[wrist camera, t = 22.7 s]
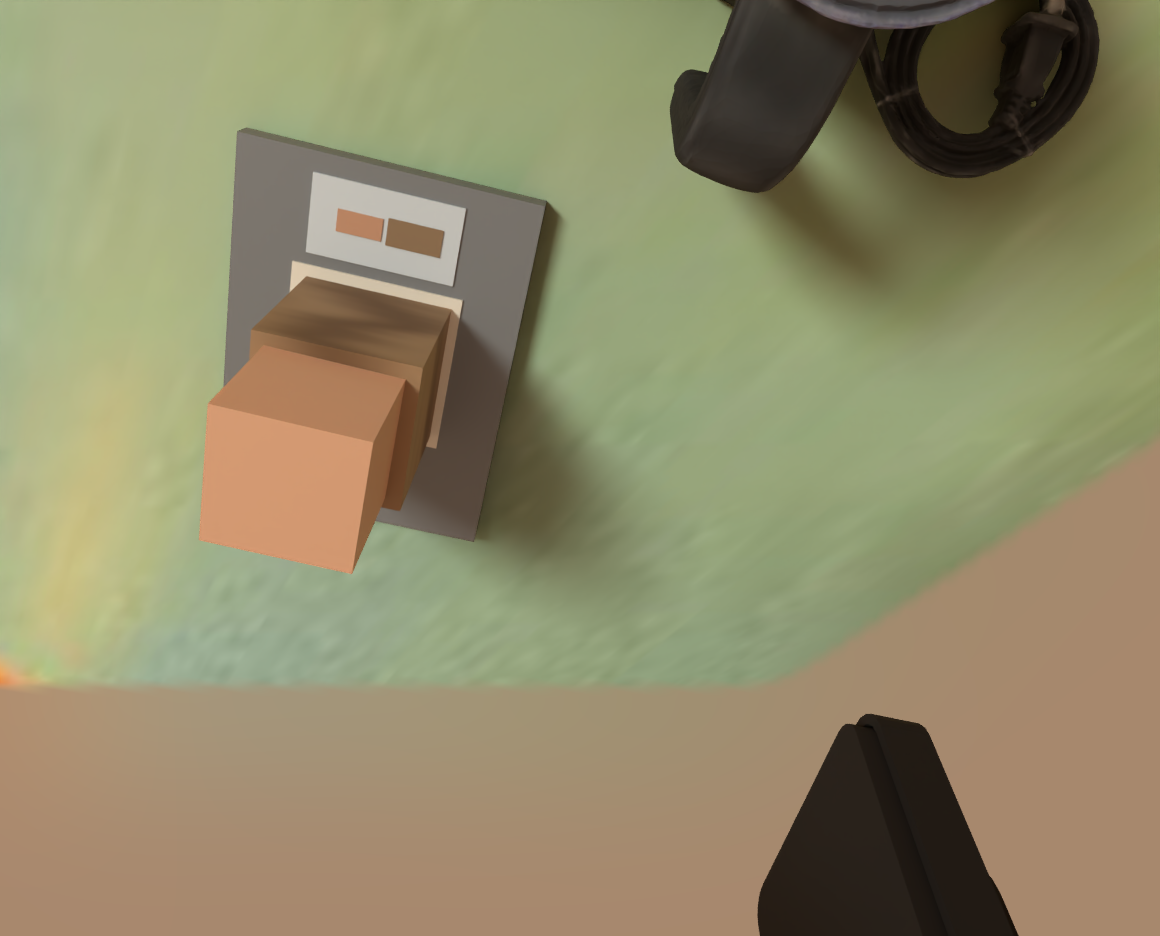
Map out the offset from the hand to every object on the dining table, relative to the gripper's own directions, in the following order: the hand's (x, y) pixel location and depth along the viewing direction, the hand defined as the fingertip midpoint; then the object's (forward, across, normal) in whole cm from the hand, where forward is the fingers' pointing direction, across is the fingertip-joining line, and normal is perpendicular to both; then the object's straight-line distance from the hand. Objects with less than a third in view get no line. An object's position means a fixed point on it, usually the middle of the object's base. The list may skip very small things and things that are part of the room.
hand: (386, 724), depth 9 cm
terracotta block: (+23, +6, +9) cm, 25 cm away
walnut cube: (+29, +6, +9) cm, 31 cm away
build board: (+30, +6, +9) cm, 32 cm away
